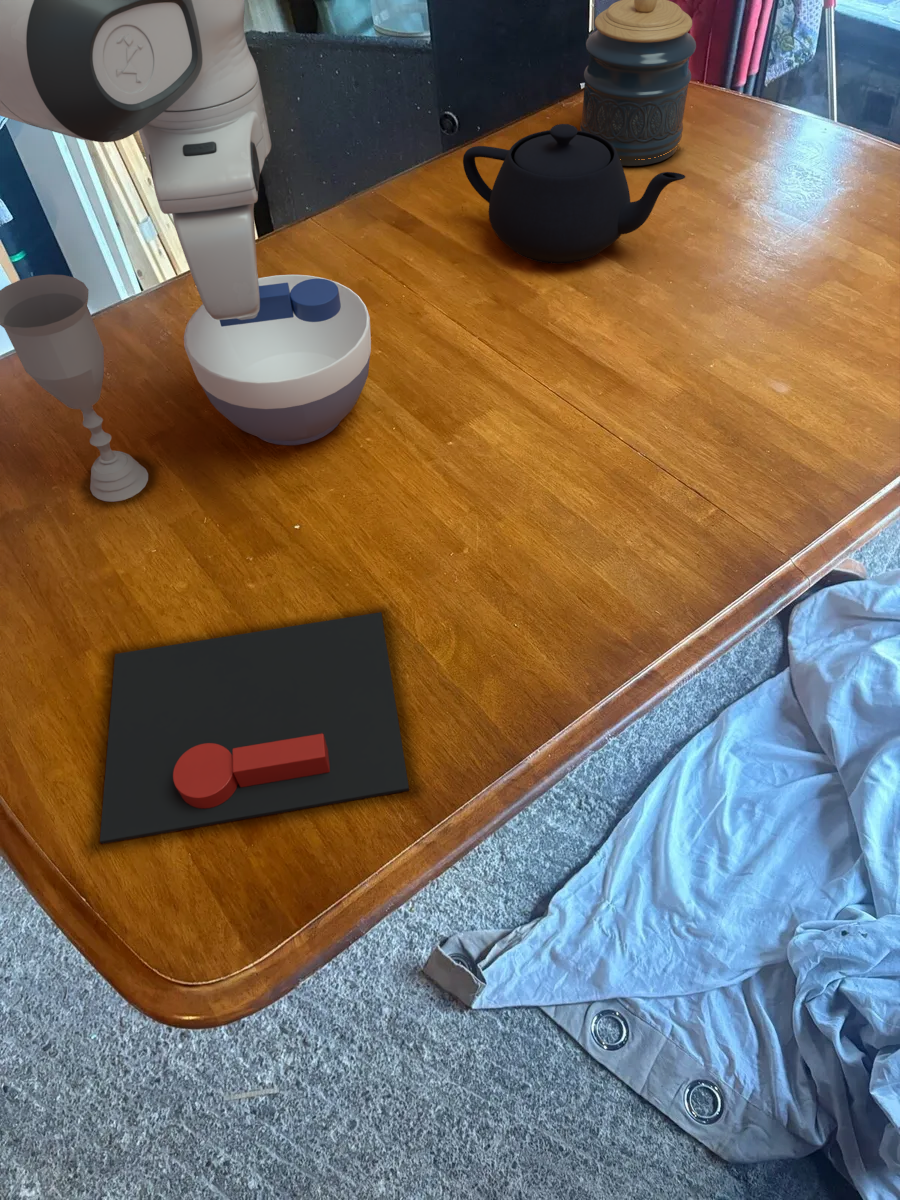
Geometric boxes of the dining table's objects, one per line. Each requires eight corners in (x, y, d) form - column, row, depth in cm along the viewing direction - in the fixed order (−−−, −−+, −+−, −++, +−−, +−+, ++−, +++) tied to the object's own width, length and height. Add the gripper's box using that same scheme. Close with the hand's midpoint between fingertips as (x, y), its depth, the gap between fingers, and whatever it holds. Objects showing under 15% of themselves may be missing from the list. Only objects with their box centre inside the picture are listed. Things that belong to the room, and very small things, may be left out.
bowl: (299, 496, 77) (278, 408, 69) (175, 427, 83) (143, 339, 76) (414, 399, 84) (407, 310, 77) (293, 343, 91) (275, 255, 83)
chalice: (174, 462, 80) (106, 280, 66) (137, 515, 76) (57, 333, 62) (101, 449, 81) (20, 269, 67) (62, 501, 77) (-33, 320, 63)
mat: (101, 844, 57) (99, 841, 57) (116, 656, 66) (114, 653, 66) (409, 790, 59) (408, 788, 58) (381, 615, 68) (381, 611, 68)
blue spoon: (221, 334, 73) (214, 311, 71) (221, 307, 75) (214, 283, 73) (343, 319, 73) (339, 295, 72) (338, 292, 76) (335, 268, 74)
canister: (628, 114, 121) (645, -40, 107) (701, 146, 114) (729, -14, 101) (557, 144, 116) (566, -14, 103) (629, 179, 110) (649, 16, 96)
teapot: (435, 251, 101) (429, 139, 91) (494, 189, 109) (494, 81, 100) (646, 301, 93) (663, 185, 83) (692, 231, 101) (712, 118, 92)
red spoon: (326, 735, 61) (322, 718, 59) (331, 787, 59) (327, 771, 57) (179, 759, 60) (170, 743, 59) (178, 813, 58) (169, 798, 56)
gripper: (163, 74, 69) (208, 243, 79) (153, 203, 56) (208, 383, 67) (245, 65, 69) (279, 234, 80) (253, 191, 56) (292, 372, 67)
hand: (246, 303), depth 73 cm, fingers closed on blue spoon, 2 cm apart
